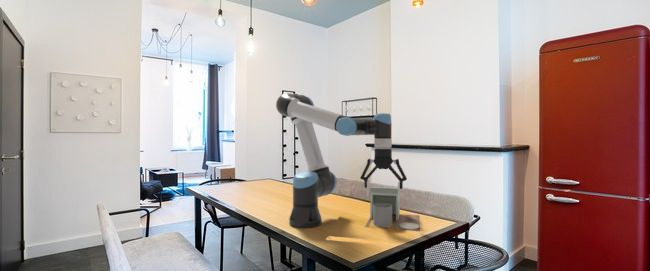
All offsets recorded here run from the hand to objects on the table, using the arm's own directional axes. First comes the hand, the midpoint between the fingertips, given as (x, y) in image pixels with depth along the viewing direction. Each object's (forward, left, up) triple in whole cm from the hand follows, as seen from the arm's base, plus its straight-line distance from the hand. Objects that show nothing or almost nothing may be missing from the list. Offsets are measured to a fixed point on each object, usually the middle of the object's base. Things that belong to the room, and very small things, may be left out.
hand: (383, 195), depth 143 cm
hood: (0, +14, -13) cm, 19 cm away
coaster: (+11, 0, -13) cm, 17 cm away
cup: (0, 0, -15) cm, 15 cm away
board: (+4, +7, -14) cm, 17 cm away
